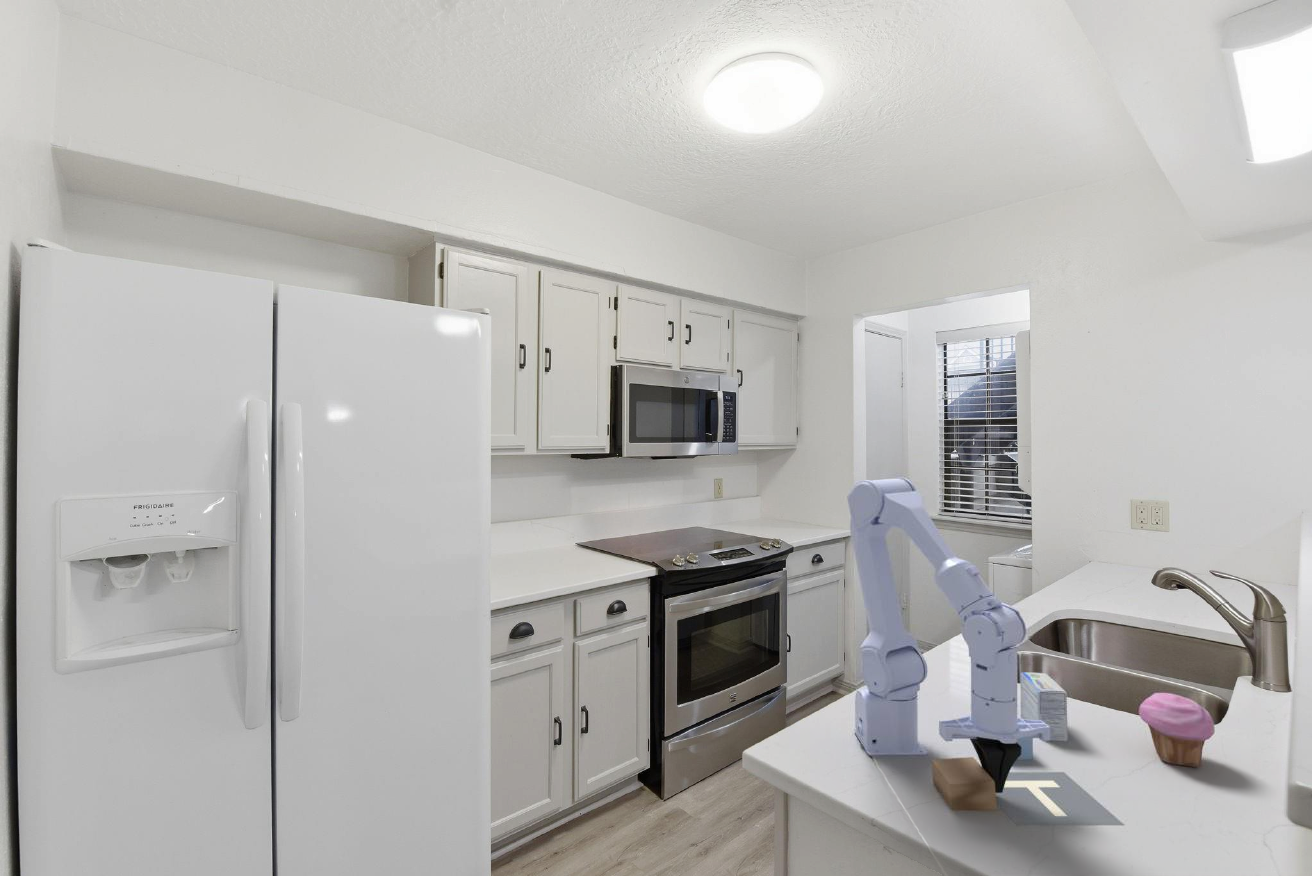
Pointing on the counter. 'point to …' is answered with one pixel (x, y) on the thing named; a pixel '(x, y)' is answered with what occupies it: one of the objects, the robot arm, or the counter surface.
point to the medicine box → (1044, 703)
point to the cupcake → (1177, 727)
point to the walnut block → (964, 784)
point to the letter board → (1050, 801)
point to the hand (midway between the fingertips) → (994, 788)
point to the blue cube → (1026, 748)
